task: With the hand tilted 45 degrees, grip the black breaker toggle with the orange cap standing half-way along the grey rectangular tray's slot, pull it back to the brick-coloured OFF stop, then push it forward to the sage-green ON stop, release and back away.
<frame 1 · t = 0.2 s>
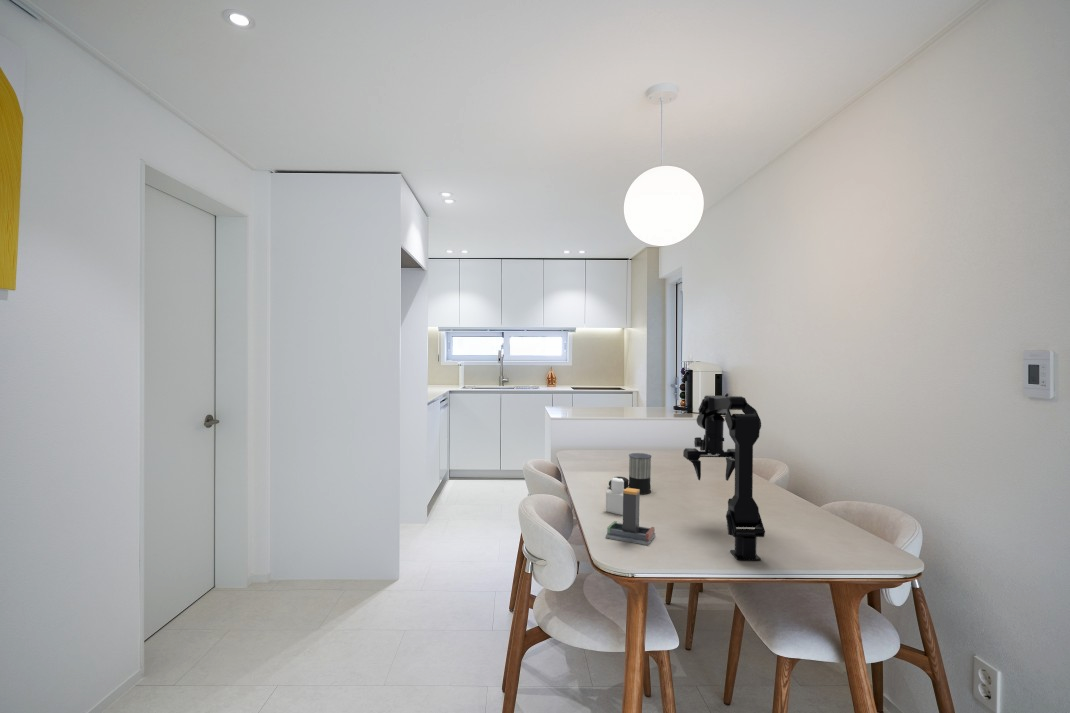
hand: (713, 480, 181), 15 cm above the table, tool pointing down, fingers open, 9 cm apart
milk frother: (629, 490, 223), on the table
breaker: (631, 511, 168), point 8 cm above the table, slide at 3.0 cm
medicine bottle: (619, 511, 194), on the table
grey rectangular tray: (630, 536, 168), on the table
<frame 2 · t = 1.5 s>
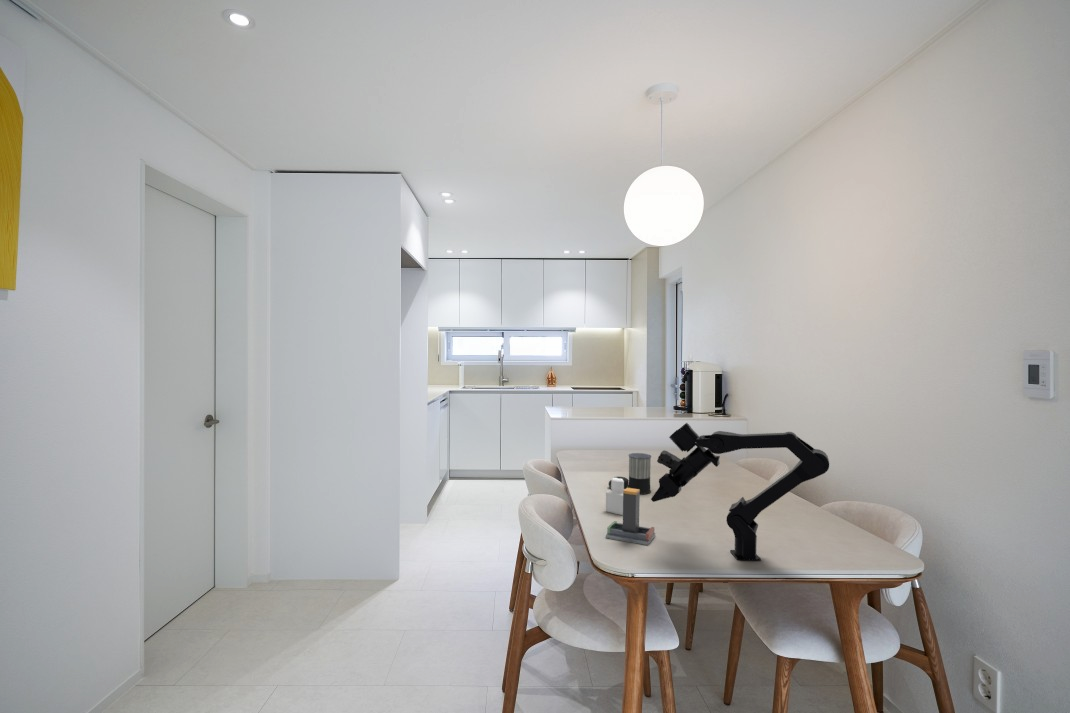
hand: (656, 496, 165), 13 cm above the table, tool tilted 45°, fingers open, 9 cm apart
nothing on the table moved.
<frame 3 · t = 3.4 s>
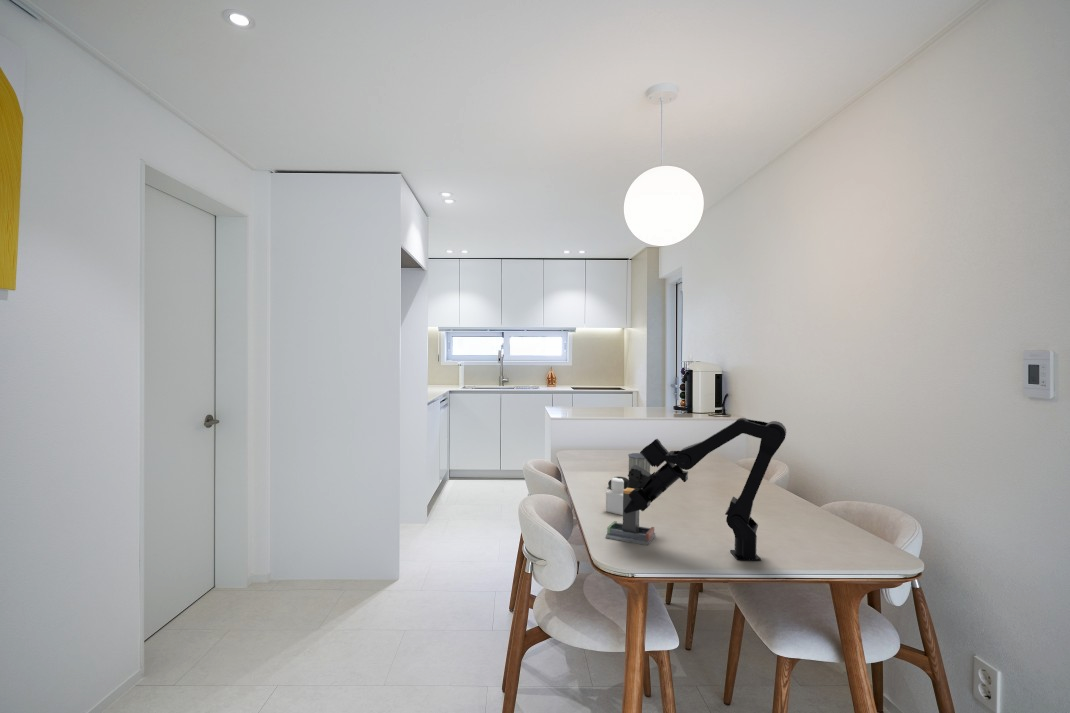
hand: (626, 510, 169), 8 cm above the table, tool tilted 45°, fingers closed on breaker, 4 cm apart
breaker: (631, 511, 168), point 8 cm above the table, slide at 3.0 cm, touching gripper
everything else where it was.
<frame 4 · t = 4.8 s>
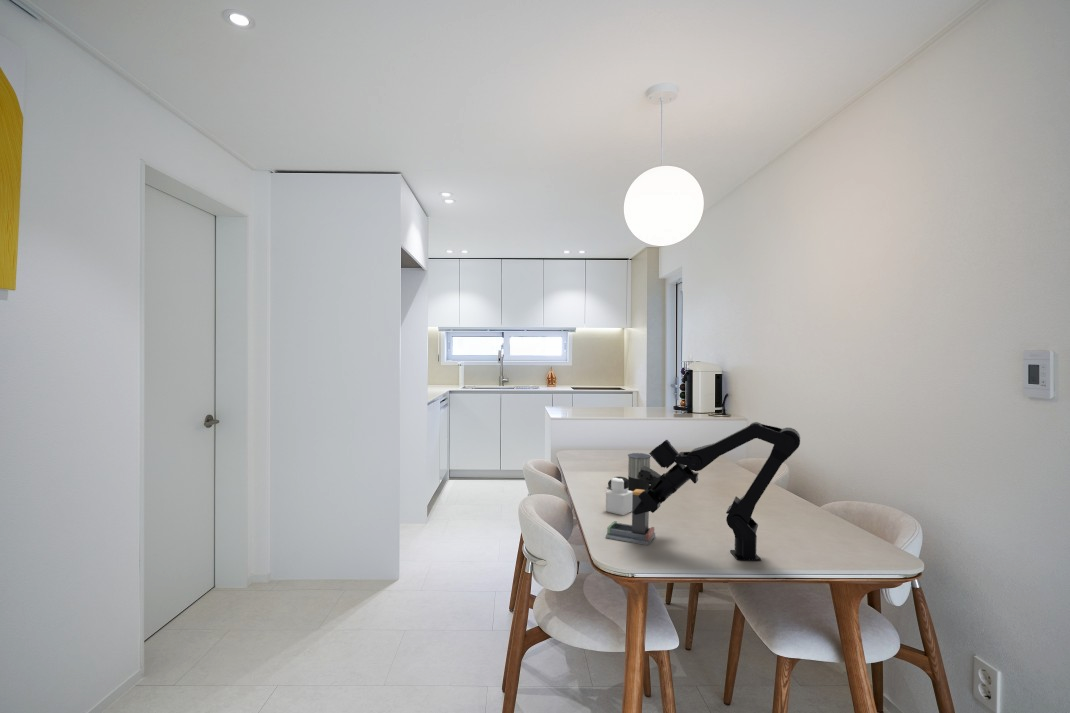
hand: (636, 511, 167), 8 cm above the table, tool tilted 45°, fingers closed on breaker, 4 cm apart
breaker: (640, 512, 167), point 8 cm above the table, slide at 0.1 cm, touching gripper
everything else where it was.
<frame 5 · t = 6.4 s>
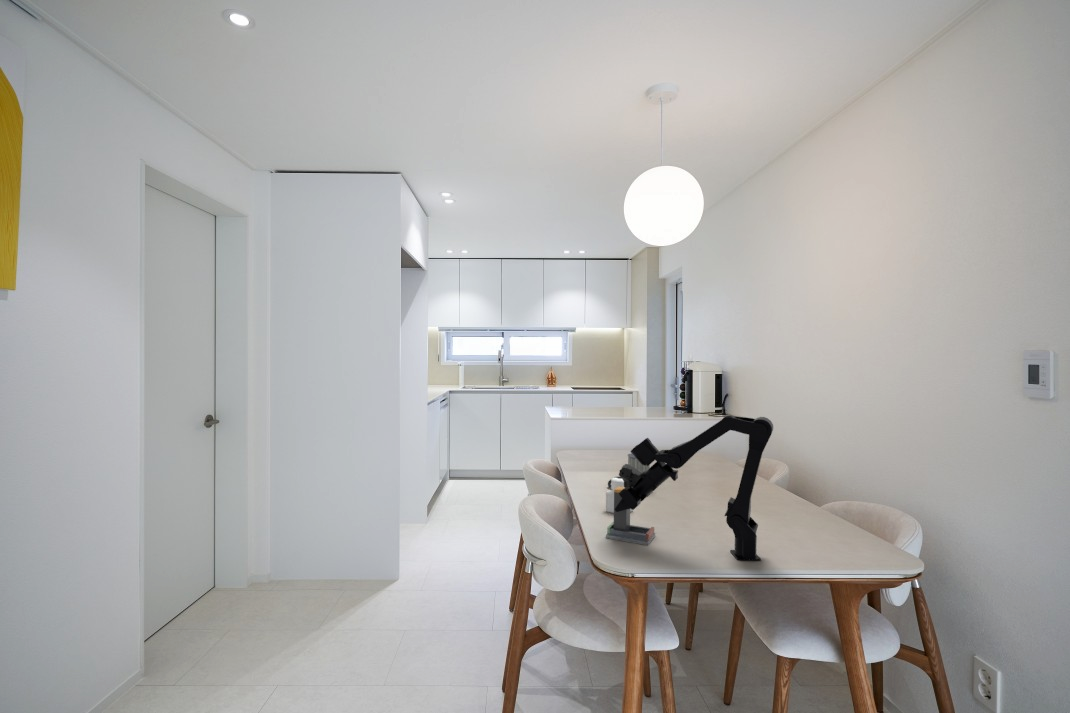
hand: (617, 508, 170), 8 cm above the table, tool tilted 45°, fingers closed on breaker, 4 cm apart
breaker: (622, 510, 169), point 8 cm above the table, slide at 5.9 cm, touching gripper
everything else where it was.
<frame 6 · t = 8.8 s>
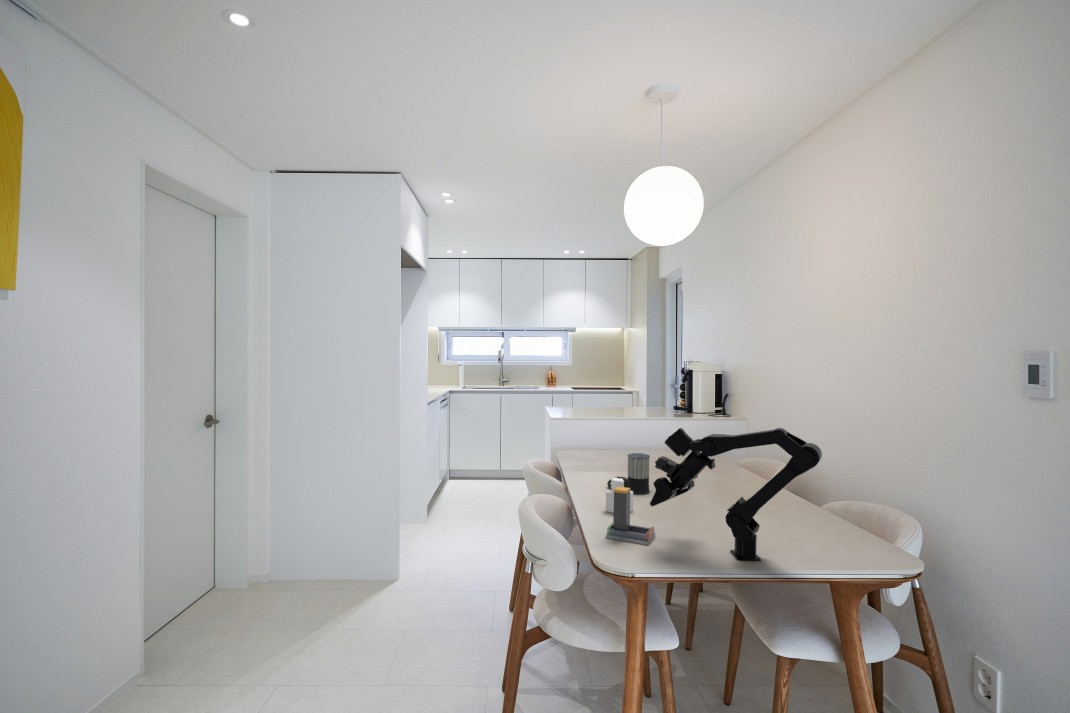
hand: (657, 502, 167), 11 cm above the table, tool tilted 40°, fingers open, 9 cm apart
breaker: (621, 510, 169), point 8 cm above the table, slide at 6.0 cm
everything else where it was.
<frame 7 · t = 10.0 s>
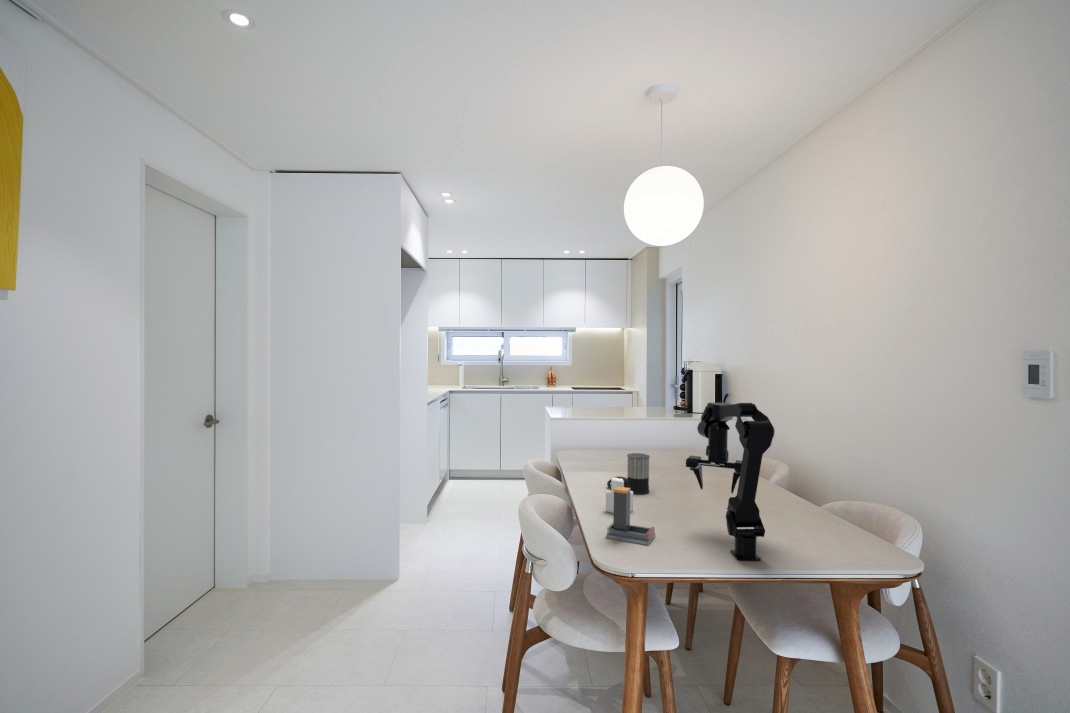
hand: (716, 491, 173), 13 cm above the table, tool pointing down, fingers open, 9 cm apart
nothing on the table moved.
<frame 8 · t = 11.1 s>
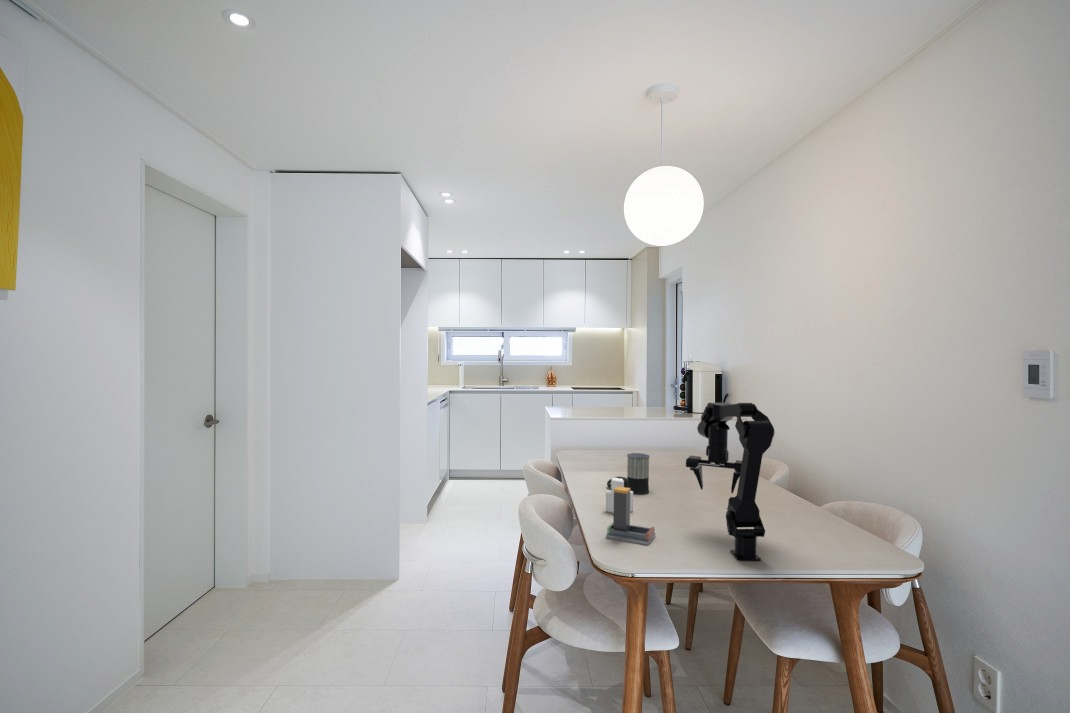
hand: (716, 491, 173), 13 cm above the table, tool pointing down, fingers open, 9 cm apart
nothing on the table moved.
at the end: breaker slide at 6.0 cm; the gripper is holding nothing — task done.
